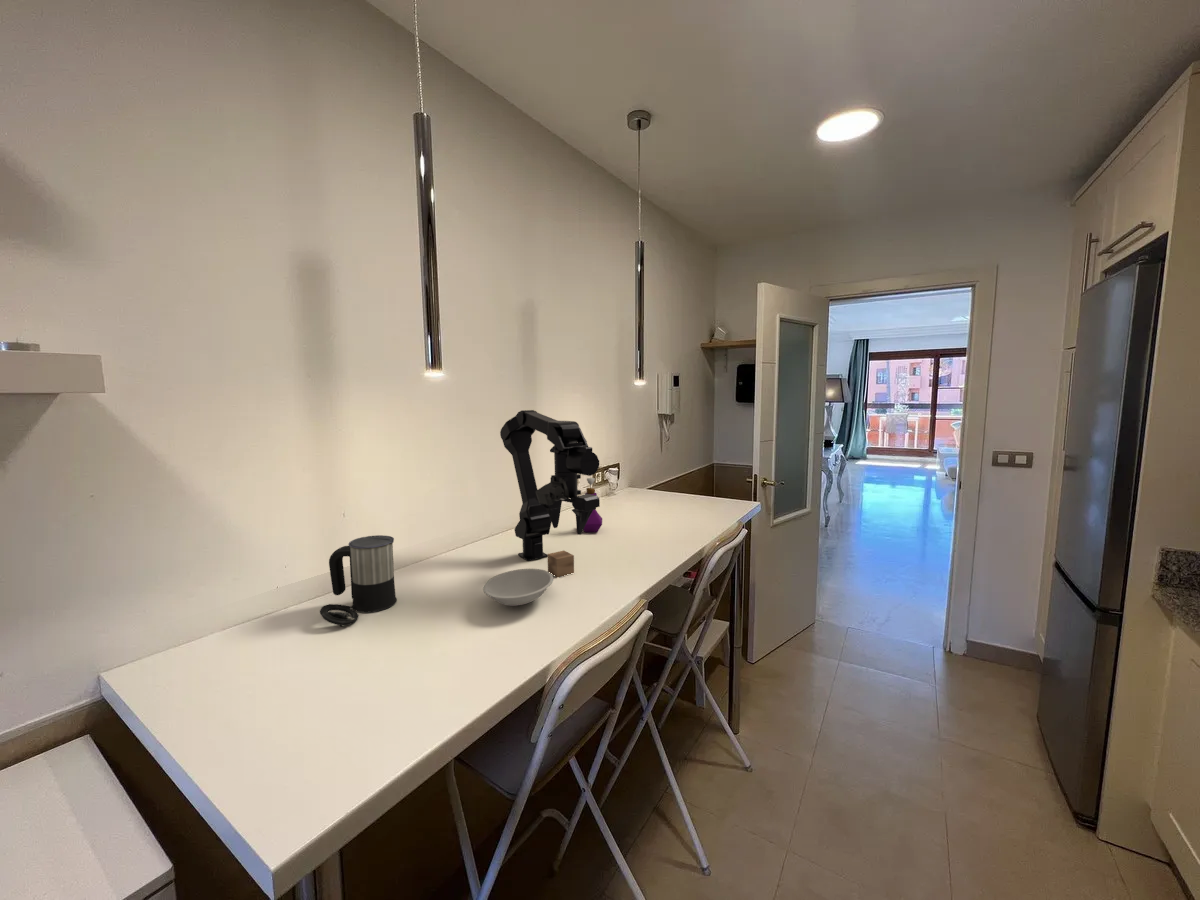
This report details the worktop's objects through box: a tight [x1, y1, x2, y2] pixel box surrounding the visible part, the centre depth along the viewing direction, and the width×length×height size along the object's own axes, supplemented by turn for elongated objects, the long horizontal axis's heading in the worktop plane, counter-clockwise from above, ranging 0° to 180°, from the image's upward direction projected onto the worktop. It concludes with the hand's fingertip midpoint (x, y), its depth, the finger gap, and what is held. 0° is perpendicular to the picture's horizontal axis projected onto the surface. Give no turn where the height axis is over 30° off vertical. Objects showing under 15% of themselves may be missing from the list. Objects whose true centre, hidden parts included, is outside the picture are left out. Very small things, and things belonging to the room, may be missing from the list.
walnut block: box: [547, 550, 575, 578], centre depth 131 cm, size 5×5×5 cm
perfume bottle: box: [583, 477, 603, 533], centre depth 169 cm, size 8×8×18 cm
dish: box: [482, 568, 554, 607], centre depth 113 cm, size 18×14×5 cm
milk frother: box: [319, 534, 398, 627], centre depth 109 cm, size 14×16×15 cm
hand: (567, 530), depth 130 cm, fingers open, 9 cm apart
